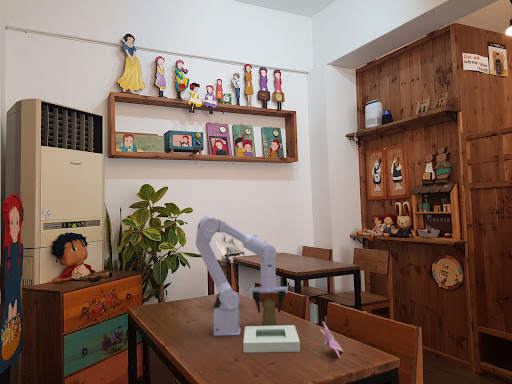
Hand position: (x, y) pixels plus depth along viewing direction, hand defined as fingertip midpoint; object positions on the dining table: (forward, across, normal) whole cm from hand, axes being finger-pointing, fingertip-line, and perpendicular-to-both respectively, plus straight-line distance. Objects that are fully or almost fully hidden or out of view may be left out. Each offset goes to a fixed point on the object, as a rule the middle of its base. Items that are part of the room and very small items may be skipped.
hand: (269, 311), depth 147 cm
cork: (+6, 0, 0) cm, 6 cm away
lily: (+6, +18, -28) cm, 34 cm away
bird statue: (+6, -17, +31) cm, 36 cm away
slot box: (+6, 0, -16) cm, 17 cm away
